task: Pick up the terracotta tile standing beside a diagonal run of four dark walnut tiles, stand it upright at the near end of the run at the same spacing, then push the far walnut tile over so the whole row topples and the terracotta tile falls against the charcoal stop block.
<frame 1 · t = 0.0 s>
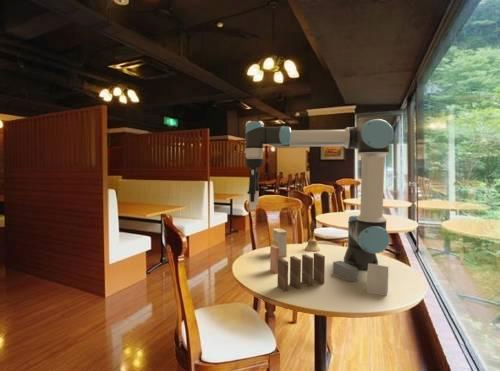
hand: (254, 207, 125), 28 cm above the table, tool pointing down, fingers open, 13 cm apart
walnut tile 4: (318, 281, 114), on the table
stop block: (344, 276, 119), on the table
hand bell: (312, 249, 159), on the table
walnut tile 3: (307, 284, 112), on the table
walnut tile 2: (295, 286, 110), on the table
terracotta tile: (274, 271, 125), on the table
walnut tile 1: (282, 288, 107), on the table
beige boxy piece: (377, 292, 105), on the table
supplement box: (279, 255, 149), on the table
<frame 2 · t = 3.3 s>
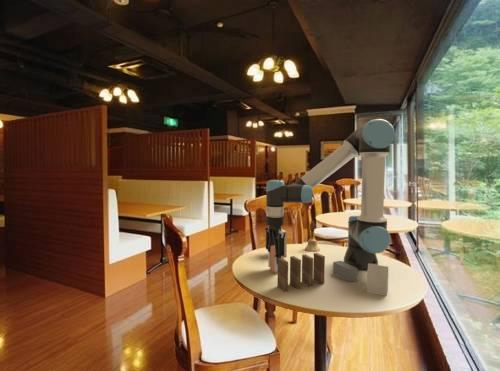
hand: (274, 268, 125), 1 cm above the table, tool pointing down, fingers closed on terracotta tile, 5 cm apart
terracotta tile: (274, 271, 125), on the table, touching gripper
everything else where it was.
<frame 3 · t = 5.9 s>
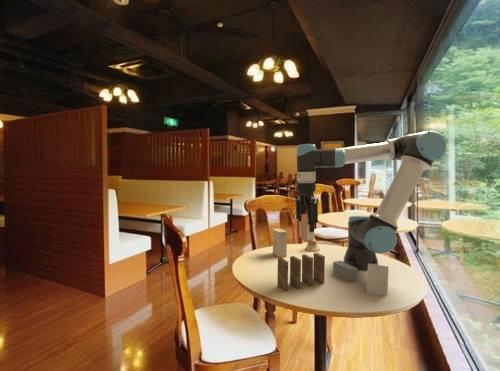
hand: (306, 237, 119), 16 cm above the table, tool pointing down, fingers closed on terracotta tile, 5 cm apart
terracotta tile: (306, 240, 119), point 15 cm above the table, touching gripper
everything else where it was.
when the fingers open (2 cm above the table, at t = 8.9 s): terracotta tile drops 1 cm, on the table.
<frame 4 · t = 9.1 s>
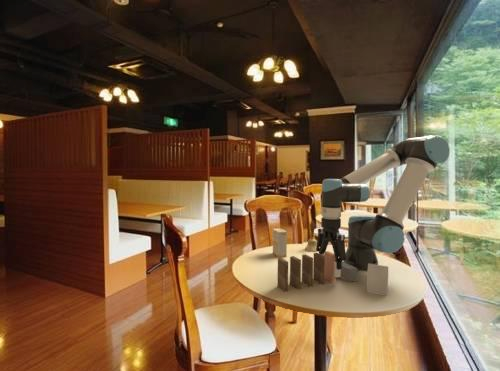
hand: (329, 272, 116), 3 cm above the table, tool pointing down, fingers open, 8 cm apart
terracotta tile: (329, 279, 116), on the table
everything else where it was.
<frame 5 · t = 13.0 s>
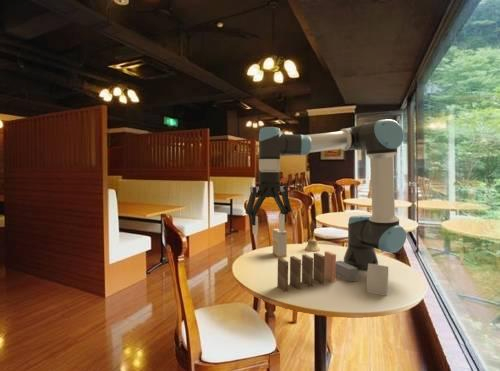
hand: (268, 232, 104), 22 cm above the table, tool pointing down, fingers open, 10 cm apart
nothing on the table moved.
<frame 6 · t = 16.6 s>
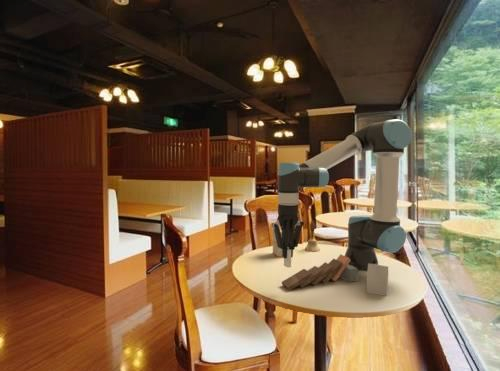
hand: (287, 266, 108), 8 cm above the table, tool pointing down, fingers closed
walnut tile 4: (320, 279, 114), point 1 cm above the table, tilted 56°, touching terracotta tile, walnut tile 3
walnut tile 3: (309, 281, 112), point 1 cm above the table, tilted 62°, touching walnut tile 2, walnut tile 4
walnut tile 2: (297, 283, 110), point 1 cm above the table, tilted 68°, touching walnut tile 1, walnut tile 3
terracotta tile: (330, 278, 116), point 1 cm above the table, tilted 45°, touching stop block, walnut tile 4
walnut tile 1: (285, 286, 108), point 1 cm above the table, tilted 70°, touching walnut tile 2
everything else where it was.
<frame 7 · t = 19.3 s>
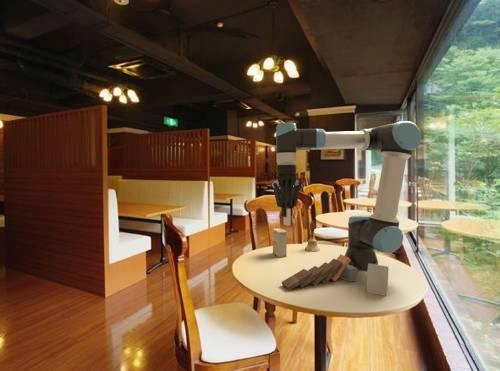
hand: (287, 224, 111), 23 cm above the table, tool pointing down, fingers closed
nothing on the table moved.
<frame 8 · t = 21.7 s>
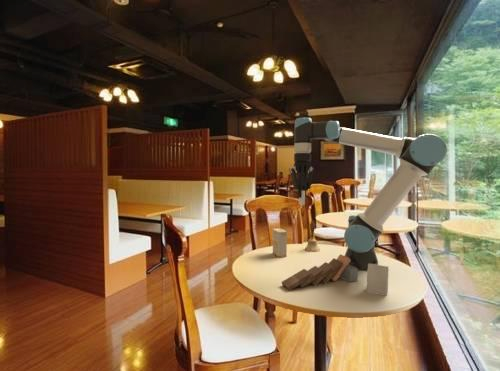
hand: (301, 204, 131), 28 cm above the table, tool pointing down, fingers closed
nothing on the table moved.
at the end: terracotta tile inside the target area (0.4 cm from its centre), point 0.6 cm above the table; terracotta tile tilted 46°; walnut tile 1 tilted 70° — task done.
